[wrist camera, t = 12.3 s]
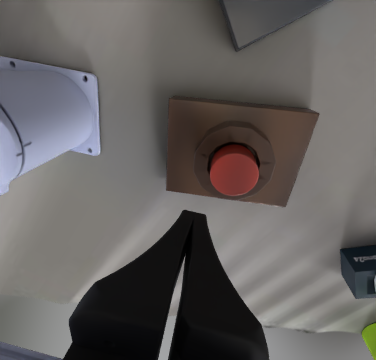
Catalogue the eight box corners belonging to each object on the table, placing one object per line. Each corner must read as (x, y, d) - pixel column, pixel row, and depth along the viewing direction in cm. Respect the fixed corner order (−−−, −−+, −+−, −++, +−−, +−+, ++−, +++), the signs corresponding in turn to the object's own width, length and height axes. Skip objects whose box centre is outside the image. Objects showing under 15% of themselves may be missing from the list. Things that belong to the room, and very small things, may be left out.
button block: (170, 181, 23) (160, 201, 20) (173, 95, 19) (162, 101, 16) (280, 197, 22) (291, 220, 19) (310, 109, 18) (332, 118, 14)
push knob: (208, 180, 19) (207, 192, 17) (214, 141, 17) (213, 150, 15) (250, 186, 18) (253, 199, 16) (260, 146, 16) (264, 156, 15)
